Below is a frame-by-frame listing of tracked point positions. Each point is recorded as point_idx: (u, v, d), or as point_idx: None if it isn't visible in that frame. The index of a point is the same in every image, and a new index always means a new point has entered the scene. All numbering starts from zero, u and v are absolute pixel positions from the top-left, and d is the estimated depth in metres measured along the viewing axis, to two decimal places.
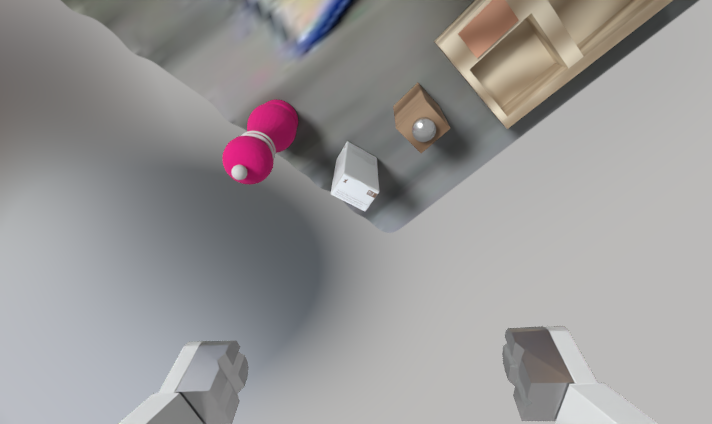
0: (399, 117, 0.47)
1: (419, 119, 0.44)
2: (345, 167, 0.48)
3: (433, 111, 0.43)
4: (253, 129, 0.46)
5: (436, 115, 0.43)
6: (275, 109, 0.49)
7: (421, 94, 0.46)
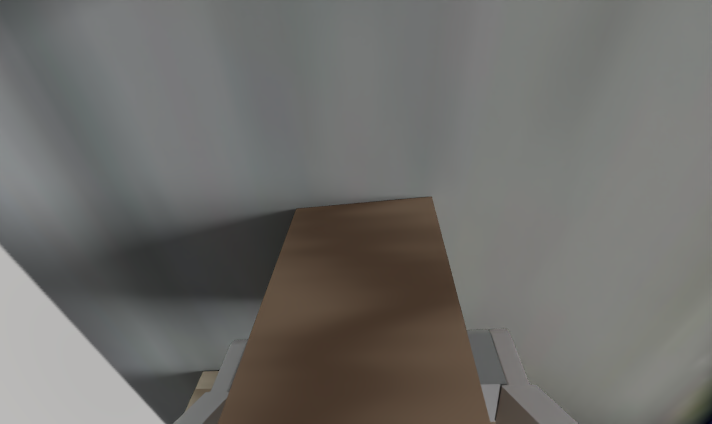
0: None
1: None
2: None
3: None
4: None
5: None
6: None
7: None
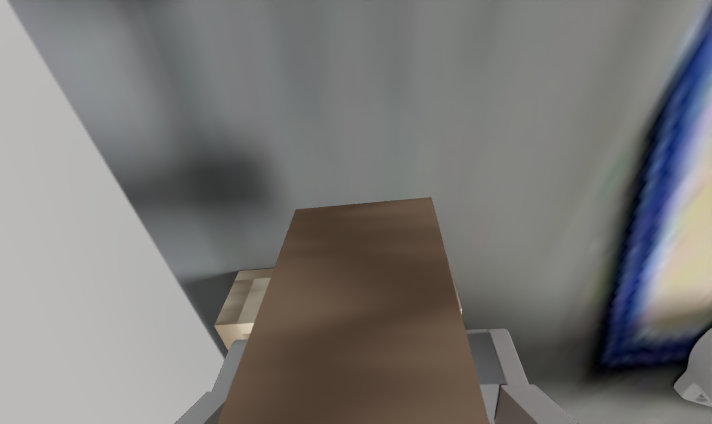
0: None
1: None
2: None
3: None
4: None
5: None
6: None
7: None
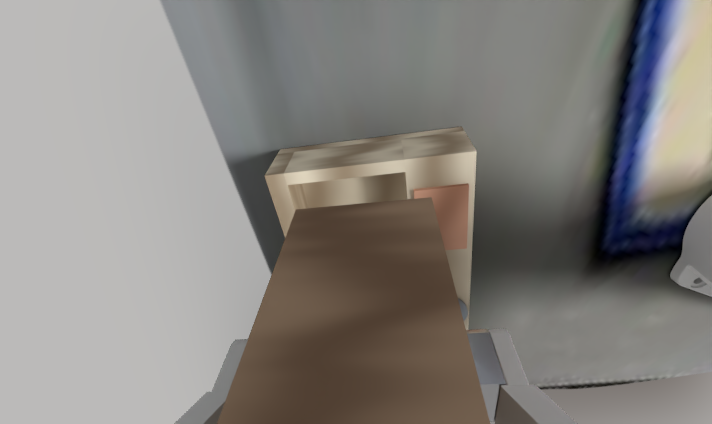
0: None
1: None
2: None
3: None
4: None
5: None
6: None
7: None
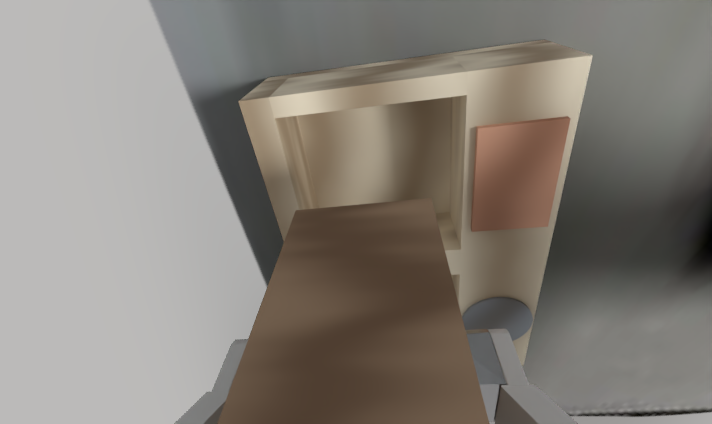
0: None
1: None
2: None
3: None
4: None
5: None
6: None
7: None
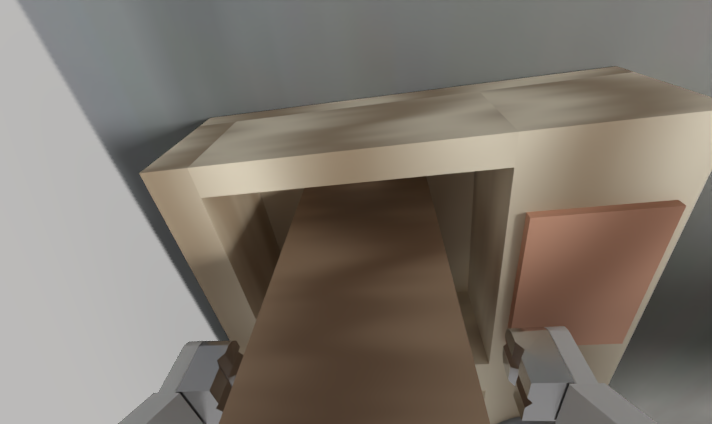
0: None
1: None
2: None
3: None
4: None
5: None
6: None
7: None
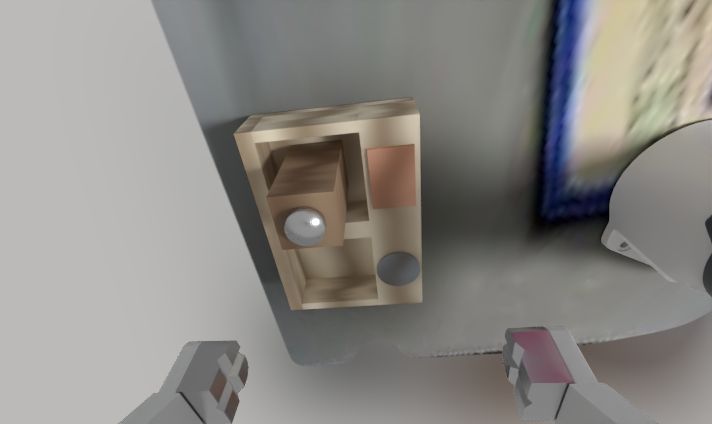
0: (338, 182, 0.27)
1: (325, 228, 0.26)
2: None
3: (321, 245, 0.27)
4: None
5: (313, 245, 0.27)
6: None
7: (345, 217, 0.30)
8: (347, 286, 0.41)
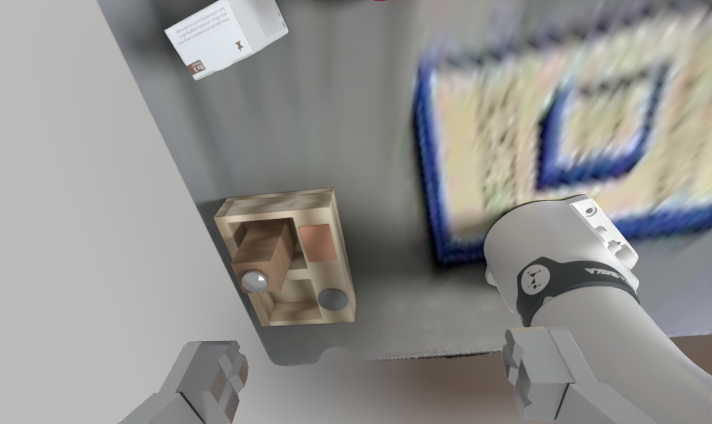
0: (277, 250, 0.43)
1: (267, 281, 0.41)
2: (260, 49, 0.28)
3: (267, 290, 0.43)
4: None
5: (262, 290, 0.43)
6: None
7: (287, 269, 0.46)
8: (303, 309, 0.57)
